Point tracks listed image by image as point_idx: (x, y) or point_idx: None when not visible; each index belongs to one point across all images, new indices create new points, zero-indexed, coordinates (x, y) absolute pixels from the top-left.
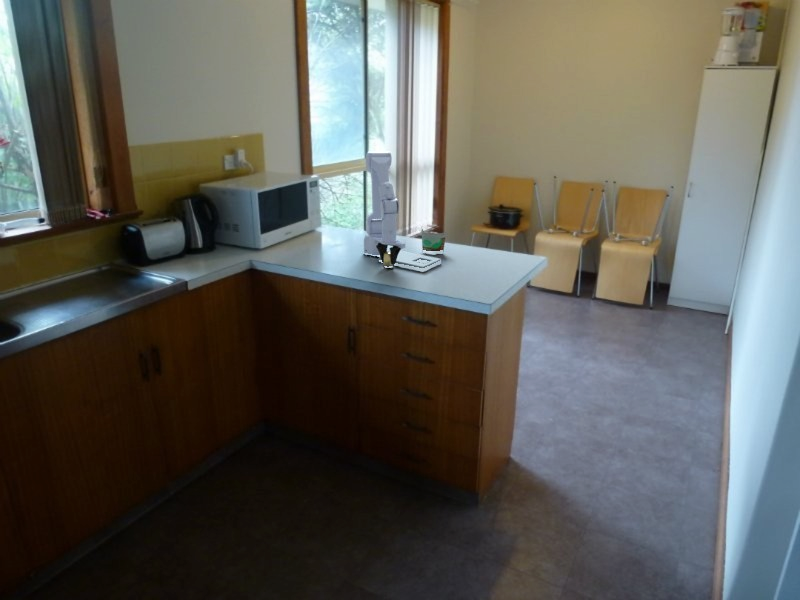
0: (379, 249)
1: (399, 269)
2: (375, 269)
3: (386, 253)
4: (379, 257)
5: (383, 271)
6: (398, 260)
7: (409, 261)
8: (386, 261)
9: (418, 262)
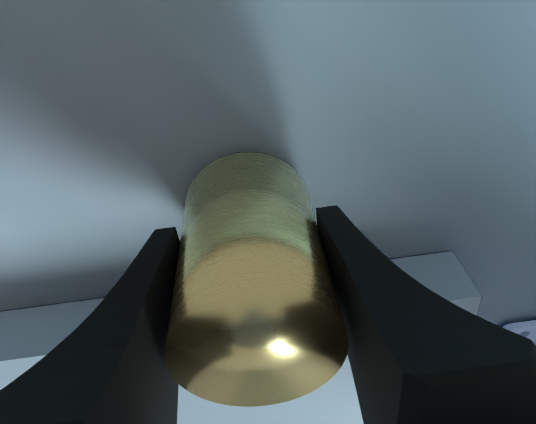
0: (422, 325)
1: None
2: (347, 68)
3: (264, 320)
4: (469, 295)
5: (210, 81)
6: None
7: None
8: (226, 209)
9: None
